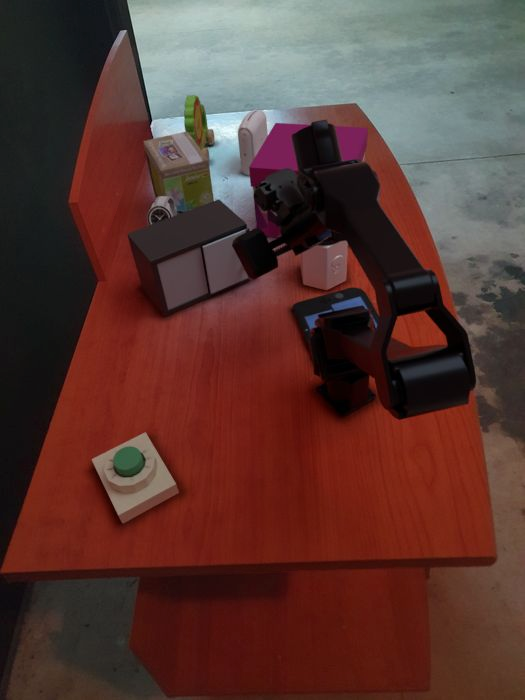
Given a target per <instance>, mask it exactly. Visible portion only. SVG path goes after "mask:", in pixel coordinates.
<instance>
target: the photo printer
mask: <svg viewBox="0 0 525 700" xmlns="http://www.w3.org/2000/svg"><path fill="white" fill-rule="evenodd" d="M267 121H268V120H267V115H266V113H265V112H264V111H263V110H262V109H252V110H251V111H249V112H248V113H247V114H246V115H245V116H244V117H243V118H242V121H241V122H240V124H239V127H238V129H237V139H238V140H237V141H238V150H239V161H240V170H241V173H242V174H243V175H245V176H250V173H249V167H250V165H251V163H252V162H253V160H254V158H255V156H256V155H257V153H258V151H259V150H260V148H261V146H262V145H263V143H264V141H265V140H266V138H267V136H268V135H269V133H268V122H267Z"/></svg>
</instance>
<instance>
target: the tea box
mask: <svg viewBox="0 0 525 700" xmlns="http://www.w3.org/2000/svg"><path fill="white" fill-rule="evenodd" d="M143 148H144V153H145V157H146V162H147V166H148V171H149V176H150V181H151V186H152V189H153V195H154V199H155V200H156V199H157V197H159V196H171V197H172V198H173V199H174V202H175V207H176V208H177V215H178V214H181V213H183V212H186V211H189V210H191V209H194V208H197V207H199V206H202V205H205V204H208V203H210V202H213V201H215V200H214V199H215V198H214V192H213V184H212V178H211V169H210V160H209V161H208V159H207V157H206V156H205V154H204V153H203V152H202V150H201V149H200V148H199V146H198V145H197V144H196V142H195V141H194V140H193V138H192V137H191V136H190V134H189V133H188V132H187V131H183V132H177V133H173V134H169V135H165V136H160V137H154V138H151V139H146V140H143ZM155 200H154V201H155Z"/></svg>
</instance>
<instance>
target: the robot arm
mask: <svg viewBox="0 0 525 700" xmlns="http://www.w3.org/2000/svg"><path fill="white" fill-rule="evenodd" d="M309 125H310V126H308V127H305V128H303V129H301V130H299V131H298V132H296V133H294V134H292V136H291V139H292V144H293V149H294V153H295V158H296V162H297V167H298V176H299V177H298V176H297V174H296V173H295V172H294V171H293V170H292V169H290V168H284V169H282V170H280V171H277V172H275V173H273V174H270V175H268V176H267V177H266V178H265V180H263V181H261V182H260V183H259V185H257V186H256V187H255V189H256V190H255V192H254V195H253V201H254V200H255V202H256V203H257V204H258V206H259V207H260V208H261V210H262V211H267V210H271V211H272V212H275V213H276V214H277V216H276V217H275V218H273V220H274V222H275V224H276V226H277V227H279V226H280V227H281V229H280V233H281V237H276V238H275V239H272V240H271V241H269V240H268V238H267V236H265V234H264V232H263V231H262V230H261V229H259V228H258V227H257V228H256V227H255V228H252V229H250V231H248V232H246V233H244V234H242V235H240V236H238V237H236V238H235V239H234V240H233V243H232V247H233V249H234V250H235V252H236V254H237V256H238V258H239V260H240V262H241V264H242V266H243V268H244V269H245V271H246V273H247V275H248V277H249V278H250V279H252V280H253V281H255V280H257V279H259V278H262V277H263V276H265V275H267V274H269V273H271V272H273V271H275V270H276V269H278V268H279V259H278V257H281V256H283V255H284V254H287V253H288V252H290V251H292V252H293V254H294V256H295V257H297V256H300V254H301V253H303V252H305V251H307V250H309V249H311V248H313V247H315V246H317V245H319V244H321V243H322V242H328V241H330V240H332V239H333V241H334V242H340V241H347V243H348V247H349V248H350V250H351V251H352V254H353V255H354V257H355V259H356V260H357V262H358V264H359V265H360V268H361V269H362V271H363V272H364V274H365V275H366V279H368V281H369V283H370V285H371V287H372V288H373V290H374V294H375V300H376V305H377V306H376V307H377V310H378V311H377V312H378V315H379V316H380V318H379V321H378V324H377V328H376V327H375V323H374V321H373V317H371V311H370V309H366V308H365V307H364V306H363V305H361V306H356V307H352V308H347V309H342V310H337V311H332V312H327V313H323V314H318V319H316V320H315V322H314V323H315V326H317V327H314V328H311V333H310V339H309V343H310V349H311V351H310V354H311V360H312V372H313V374H314V376H316V377H319V378H320V379H321V381H322V383H321V384H320V385H317V386H316V388H315V391H316V393H317V394H318V395H319V396H320V397H321V398H322V399H323V400H324V401H325V402H326V403H327V405H328V406H329V407H330V408H331V409H332V410H333V411H334V412H335V413H336V414H337V415H338V416H339V417H341V418H344V417H346V416H347V415H349V414H351V413H352V412H354V411H356V410H358V409H360V408H361V407H363V406H365V405H367V404H369V403H370V402H372V401H374V400H375V399H376V396H377V397H378V400H379V402H380V404H381V406H382V407H383V409H384V410H385V411H388V413H389V414H390V415H391V416H392V417H393V418H395V419H396V420H399V421H401V420H405V419H410V418H414V417H418V416H423V415H427V414H432V413H436V412H440V411H444V410H449V409H454V408H457V407H463V406H466V405H469V402H470V394H471V392H472V391H474V390H475V388H476V385H477V374H476V369H475V364H474V359H473V354H472V349H471V343H470V339H469V334H468V333H467V330H466V329H465V328H464V327H463V325H462V324H461V323H460V322H459V321H458V320H457V318H455V316H454V315H453V314H452V313H451V311H449V309H448V308H447V307H446V306H445V304H444V301H443V296H442V290H441V285H440V282H439V279H438V276H437V275H436V273H435V271H434V270H432V269H431V268H427V269H425V268H424V266H423V265H422V263H421V262H420V261H419V259H418V258H417V256H416V255H415V254H414V252H413V250H412V249H411V247H410V246H409V245H408V243H407V242H406V240H405V239H404V237H403V236H402V235H401V233H400V232H399V231H398V229H397V228H396V226H395V225H394V223H393V222H392V220H391V219H390V217H389V216H388V215H387V213H386V211H385V210H384V209H383V208H382V206H381V204H380V195H381V183H380V180H379V177H378V174H377V171H375V170H374V169H373V168H372V166H371V165H370V164H368V163H367V162H366V161H364V162H362V161H361V160H360V159H353V160H347V161H343V160H342V155H341V151H340V146H339V142H338V137H337V133H336V128H335V126H336V125H335V124H333V123H329V121H328V119H321V120H315V121H311V122H310V124H309ZM421 312H424V313H426V315H427V316H428V317H429V318H430V320H431V321H432V322H433V323H434V324H435V325H436V327H437V328H438V329H439V330H440V331H441V332H442V334H443V335H444V336H445V339H446V344H432V345H422V346H411V345H409V344H406V343H405V342H403V341H400V340H398V339H396V338H394V337H392V336H393V332H394V329H395V326H396V323H397V321H398V317H403V316H408V315H413V314H417V313H421ZM310 349H309V350H310ZM370 377H371V378H372V379H374V383H375V387H376V388H375V389H376V393H377V395H376V393H375V392H374V391H372V390H371V388H369V387H370V386H369V385H370Z"/></svg>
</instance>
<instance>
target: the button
mask: <svg viewBox="0 0 525 700" xmlns="http://www.w3.org/2000/svg"><path fill="white" fill-rule="evenodd" d="M113 463H114V466H115V468H116V470H117V472H118V474H120V475H121V476H123V477H132V476H134V475H136V474H138V473H139V472H140V471H141V470H142V468H143V465H144V460H143V457H142V455H141V452H140V451H139V449H137V448H136V447H132V446H128V447H124V448H122V449H120V450H119V451H118V452H117V453H116V454H115V456H114V458H113Z"/></svg>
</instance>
